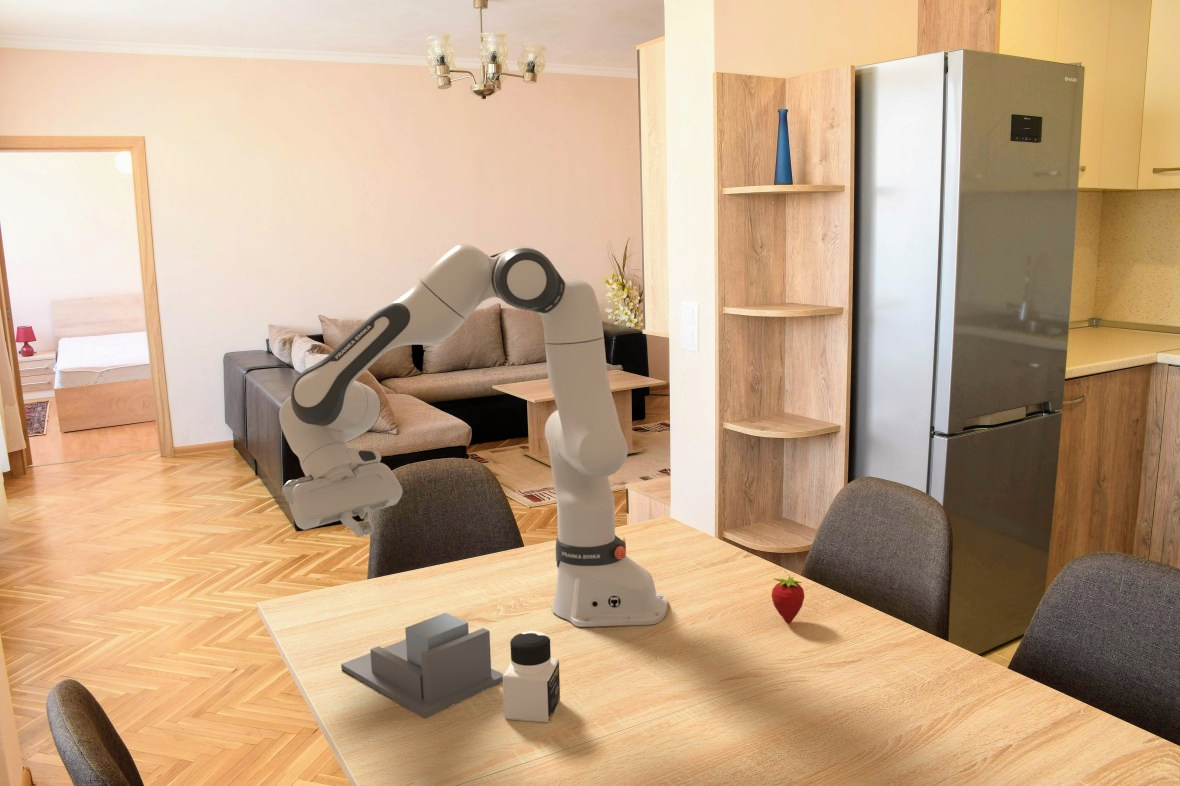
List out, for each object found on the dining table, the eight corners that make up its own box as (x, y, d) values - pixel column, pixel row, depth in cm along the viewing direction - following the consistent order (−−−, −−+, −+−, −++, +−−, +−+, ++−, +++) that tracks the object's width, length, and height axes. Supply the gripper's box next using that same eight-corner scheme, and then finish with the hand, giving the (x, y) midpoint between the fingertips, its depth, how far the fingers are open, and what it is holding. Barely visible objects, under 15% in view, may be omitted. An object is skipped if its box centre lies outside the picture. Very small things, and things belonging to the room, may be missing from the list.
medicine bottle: (549, 723, 137) (547, 648, 135) (503, 720, 138) (500, 645, 136) (560, 700, 144) (558, 628, 142) (516, 697, 145) (514, 625, 143)
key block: (408, 680, 149) (405, 627, 147) (448, 663, 154) (445, 612, 153) (430, 692, 145) (427, 638, 143) (470, 674, 150) (468, 622, 149)
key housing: (341, 669, 156) (337, 619, 154) (419, 639, 167) (416, 592, 166) (424, 718, 139) (421, 662, 138) (505, 680, 151) (503, 629, 149)
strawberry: (767, 628, 168) (768, 576, 166) (775, 613, 175) (776, 562, 173) (800, 633, 166) (801, 580, 164) (807, 617, 173) (807, 566, 171)
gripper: (282, 472, 156) (317, 539, 150) (385, 449, 170) (420, 509, 165) (272, 494, 159) (306, 559, 154) (374, 469, 174) (408, 528, 169)
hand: (366, 533), depth 160 cm, fingers closed
